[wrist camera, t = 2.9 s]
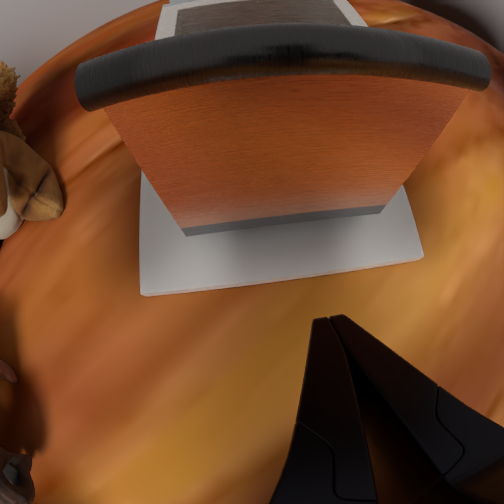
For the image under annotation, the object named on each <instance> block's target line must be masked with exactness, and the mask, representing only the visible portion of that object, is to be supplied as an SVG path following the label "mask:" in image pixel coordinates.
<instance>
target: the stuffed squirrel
mask: <svg viewBox="0 0 504 504" xmlns="http://www.w3.org/2000/svg"><path fill="white" fill-rule="evenodd" d="M14 70H15V68H8V67H7V65H6V64H5V63H3V61H2V62H1V61H0V239H6V238H8V237H9V236H10V235H12V234H13V233H14V232H16V231H17V229H18V228H19V227H20V226H21V224H22V222H23V221H24V219H25V220H29V221H44V220H51V219H56V218H59V217H60V215H61V213H62V212H63V209H64V206H63V197H62V193H61V190H60V187H59V184H58V181H57V178H56V175H55V173H54V171H53V169H52V167H51V166H50V164H49V163H48V162H46V161H45V160H44V159H43V158H41V157H40V156H39V155H38V154H37V153H36V152H35V151H34V150H33V149H32V148H31V147H30V146H29V145H28V144H26V143H25V139H26V136H23V134H22V130H21V129H20V127H19V126H18V124H17V121H16V120H11V119H9V116H10V114H11V113H12V111H13V108H14V107H15V104H16V103H15V102H13V101H14V99H15V98H16V96H17V95H16V94H15V93H16V91H17V90H18V88H17V87H16V82H17V78H19V77H20V75H19V76H15V72H14Z"/></svg>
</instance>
